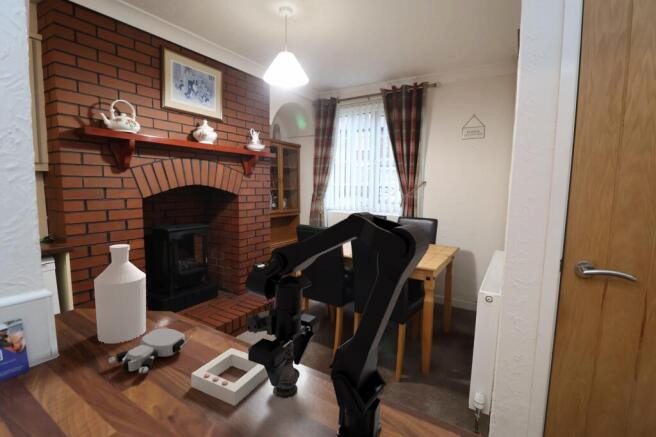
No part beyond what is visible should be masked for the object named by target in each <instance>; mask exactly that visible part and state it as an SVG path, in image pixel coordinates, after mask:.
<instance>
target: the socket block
mask: <svg viewBox="0 0 656 437" xmlns="http://www.w3.org/2000/svg"><path fill="white" fill-rule="evenodd" d="M230 367H234V368H237V369H239V370H242V371H245V372H246V373H245V374H244V375H243V376H241V377H240V378H238V379H237V380H236V381H233V382H232V381H230V380H227V379H225V378H222V377H221V376H219V375H220V374H223V373H224V372H225V371H226V370H228V369H229V368H230ZM190 377H191V380H190V383H191V384H190V386H191V388H193V389H196V390H198V391H200V392H203V393H205V394H207V395H209V396H212V397H214V398H216V399H219V400H221V401H223V402H225V403H226V404H230V405H232V406H234V407H236V406H237V405H238V404H239V403H240V402H241V401H242V400H244V399H245V398H246V396H248V395H249V394H250V393H251V392H252V391H253V390H255V388H257V387H258V386H259V385H260V384H261V383H263V381H265V380H266V379H267V378H269V377H268V374H267V372H266V369H265V367H264V366H263V365H260V364H258V363H255V362H252V361H249V360H248V352H244V351H241V350H238V349H235V348H233V347H231V348H229V349H226V350H225V351H224V352H222V353H221V354H220V355H218V356H216V357H215V358H213V359H212V360H210V361H209V362H207V363H206V364H204V365H203V366H201V367H200V368H199V367H198V369H197V370H194V371H193V372H191V374H190Z"/></svg>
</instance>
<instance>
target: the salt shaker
mask: <svg viewBox="0 0 656 437" xmlns="http://www.w3.org/2000/svg"><path fill="white" fill-rule="evenodd" d="M284 349H285V356H284V358H285V359H286V361H285V364H284V367H283V370H282V373H281V376H280V379H279V382H278V384H277V386H276V387H274V386H273V388H272V389H273V390H272V392H273V394H274V395H275V396H276V397H278V398H279V399H280V398H281V399H288V398H291V397H293V396H295V395H296V394H297V393H298V390H299V388H298V385H297V383H298V379H299V378H300V374H301V373H300V371H299V369H297V368H295V366H294V359H295V356H294V355H293V341H291V342H290V343H289V344H287V345H286V346H285V347H284Z"/></svg>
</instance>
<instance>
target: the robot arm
mask: <svg viewBox="0 0 656 437" xmlns="http://www.w3.org/2000/svg"><path fill="white" fill-rule="evenodd" d="M356 239H359V240H360V241H361V242H362V243H364V245H366V246H367V247H368V248H370V249H371V250H374V251H376V252H377V257H376V263H377V277H376V279H375V281H374V283H373V286H372V289H371V292H370V293H369V296H368V300H367V302H366V305H365V307H364V309H363V312H362V314H361V318H360V319H359V322H358V325H357V327H356V330H355V331H354V332H355V333H354V335H353V336H352V337H351V338H350V339H348V340H346V342H344V343H343V344H342V345H340V346H338V347H337V348H336V349H335V352H334V356H333V361H332V363H331V364H329V366H328V368H329V369H331V370H330V376H329V377H330V380H331V382H332V385H333V390H334V394H335V399H336V402H337V406H338V426H339V427H338V429H337V431H336V437H378V435H379V432H380V430H381V427H382V422H381V421H380V412H381V411H380V410H381V399H380V398H379V397H380V396H381V395H382V394H383V393H384V391H385V389H386V387H387V383H386V381H385V380H384V379H385V378H383V377H382V374H381V373H380V372H379V370H378V368H377V364H378V361H379V360H378V359H379V358H378V346H379V343H380V342H381V338H382V336H383V335H384V332H385V329H386V327H387V325H388V322H389V319H390V318H391V315H392V312H393V310H394V308H395V305H396V303H397V301H398V298H399V296H400V294H401V292H402V288H403V286H404V284H405V282H406V281H407V279H408V278H409V277H410V276H411V274H412V273H413V271H414V270H415V269H416V268H417V266H418V265H419V264H420V262H421V261H422V259H423V258H424V257H425V255H426V253H427V252H428V251H429V248H430V245H431V244H430V242H431V241H430V238H429V236H428V233H427V232H426V231H425V229H424V228H422V227H421V226H419V225H417V224H414V223H413V224H403V223H400V222H397V221H394V220H390V219H387V218H383V217H379V216H377V215H375V214H372V213H371V212H369V211H361V212H353V213H350V214H349V215H348V216H347V217H346V218H344V219H342V220H340V221H338V222H336V223H334V224H332V225H330V226H329V227H327V228H324V229H323V230H321V231H319V232H316V233H315V234H314V235H312V236H309V237H307V238H305V239H304V240H300V241H298V242H292V243H289V244H285V245H281V246H277V247H275V248H273V249H272V250H271V252H270V258H269V259H268V261H267V262H266V264H263V263H256V264H253V265H252V270H251V271H249V273H248V274H247V277H246V280H245V281H244V287H245V290H246V291H247V292H248V293H250V294H252V295H256V296H259V297H261V298H264V299H267V300H273V299H274V303H273V304H274V305H273V308H271V309H270V310H265V311H261V312H259V313H256V314H251V315H250V316H247V317H246V325H245V326H246V328H247V331H248V332H249V333H253V334H257V333H261V332H266V335H269V336H274V338H275V339H273V340H270V339H267V338H264V337H263V338H261V339H260V340H258V341H257V342H255V343H253V344H252V345H251V346H250V347H249V348H247V354H248V360H249V361H252V362H255V363H258V364H260V365H263V366H264V367H265V369H266V372H267V374H268V377H267V378H268V379H269V382H270V385H271V386H272V387H273V388H274V387H276V386H277V384H278V382H279V379H280V376H281V373H282V370H283V367H284V364H285V361H286V359H285V358H284V356H285V349H284V347H285V346H286V345H287V344H289V343H290V342H291V341H292V342H293V355H294V356H295V359H294V360H293V365H296V366H298V365H300V364H301V361H302V359H303V357H304V355H305V353H306V351H307V349H308V347H309V346H310V344H311V342H312V340H313V338H314V337H315V335H316V332H317V331H318V330H320V320H319V319H318V318H317V316H314V315H312V314H311V315H310V314H306V307H303V290H304V289H306V288H309V287H311V286H312V281H310V279H308V278H307V277H306V275H305V274H304V273H302V274H300V275H297V276H296V275H293V274H294V273H297V272H301V271H304V270H305V269H307V268H308V267H309V266H310V265H312V264H313V263H314V262H315V261H316V259H317V258H319V257H320V256H321V255H324V254H326V253H328V252H329V251H332V250H335V249H336V248H339V247H340V246H343V245H346V244H347V243H350V242H352V241H353V240H356Z"/></svg>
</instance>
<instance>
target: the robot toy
mask: <svg viewBox="0 0 656 437" xmlns="http://www.w3.org/2000/svg"><path fill="white" fill-rule="evenodd" d="M192 338H193V335H190V336H189V338H187V340H186V336H185V334H184V333H182V332H180V331H179V330H177V329H172V328H158V326H155V327H153V329H152V330H150V331H149V332H148V333H146V334H145V335H144V336H142V337H141V338H140V340H139V344H140V345H138V346H135V347H133V348H132V349H130V350H128V351H127V350H126V351H125V350H123V351H120V352H118V353H115V354H116V355H115V356H112V357H110V358H109V359H108V360H107V361H108V363H109V364H111V365H112V364H115V363H116V362H117V364H120V363H122V366H121V367H122V369H123V370H124V371H129V372H134V371H137V370H138V373H139V374H146V373H147V372H148V371H150V370H151V369H152V367H153V366H154V360H156V359H157V358H158V357H161V358H162V357H164V358H166V357H170V356H173V355H174V354H177V353H178V352H179V351H180V350H181V349H183V348H184V347H185V346H186V344H187V343H188V342H189V341H190V340H191V339H192Z"/></svg>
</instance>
